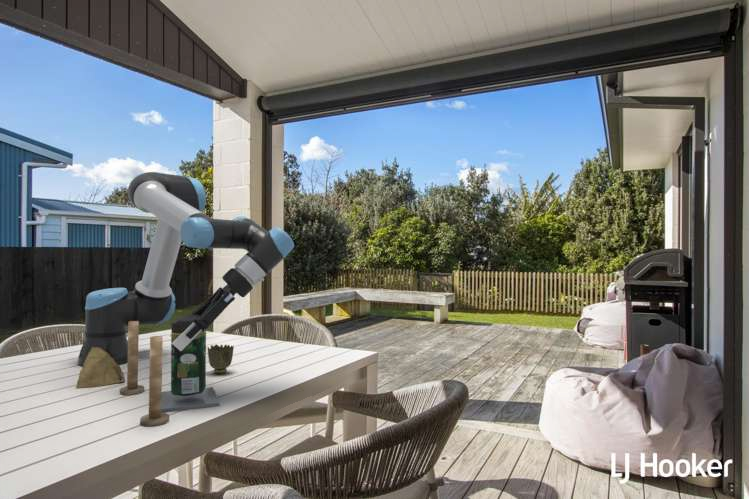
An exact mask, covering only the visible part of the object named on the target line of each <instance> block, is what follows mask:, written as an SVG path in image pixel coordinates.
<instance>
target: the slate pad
mask: <svg viewBox="0 0 749 499" xmlns="http://www.w3.org/2000/svg"><path fill="white" fill-rule="evenodd" d="M220 406H221V403H220V400H219V398H218V396H217V394H216V391H215V389H214V387H213V386H207V387H206V386H205V389H204V391H203V392H202V393H200V394H194V395H192V396H178V395H173V394H172V393H171V390H167V391H166V390H165V391H162V395H161V413H168V412H169V413H170V412H177V411H187V410H195V409H203V408H204V409H205V408H211V407H220Z"/></svg>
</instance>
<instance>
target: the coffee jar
mask: <svg viewBox="0 0 749 499" xmlns="http://www.w3.org/2000/svg"><path fill="white" fill-rule="evenodd" d="M199 317H200V315H198V314H192V313H191V314H182V315H181V316H180V317H177V318H175V319H174V320H173V321H172V322H171V330H170V331H171V332H170V333H171V334H170V335H171V336H170V343H171V344H170V346H171V347H170V348H171V349H170V351H171V352H170V391H171V393H172V394H173V395H178V396H192V395H194V394H200V393H202V392H203V391H204V389H205V387H206V383H207V382H206V381H207V380H206V379H207V377H206V376H207V373H206V372H207V369H206V366H207V364H206V361H207V359H206V358H207V329H204V330H202V329H201V330H202V331H201V332H200V333H199V334H198V335H197V336H196V337H195V338H194V339H193V340H192V341H191V342H190V343H189V344H188V345H187V346H186V347H185V348H184V349H183V350H182V351H180V350H179V349H177V348H176V347H175V346H174V345H173V344H172V343H173V342H174V341H175V340H176V339H177V338H178V337H179V336H180V335H181V334H182V333H183V332H184V331H185V330H186V329H187V328H188V327H189V326H190V325H191V324H192V323H193V320H194V319H196V320H198V319H199Z"/></svg>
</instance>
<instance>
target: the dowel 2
mask: <svg viewBox="0 0 749 499" xmlns="http://www.w3.org/2000/svg"><path fill="white" fill-rule="evenodd" d="M163 339H164V338H163V336H162V335H154V336H150V338H149V375H148V376H149V380H148V381H149V384H148V413H147V414H144V415H143V416H141V417H140V420H139V424H140V426H142V427H148V428H149V427H151V428H152V427H157V426H162V425H165V424H167V423H169V421H170V414H169V413H168V412H163V413H161V395H162V392H163V391H162V390H163V389H162V388H163V387H162V385H163V383H162V382H163V378H162V377H163Z"/></svg>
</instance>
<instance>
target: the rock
mask: <svg viewBox="0 0 749 499" xmlns="http://www.w3.org/2000/svg"><path fill="white" fill-rule="evenodd" d="M125 381H126V377H125V374H124V372H123V370H122V368H121V366H120V364H117V363H116V362H115V361H114V360H113V358H112V357H111V356H110V355H109V354H108V353H107V352H105V351H104V350H102V349H101V348H98V347H96V348H94V347H92V348H91V350H90V352H89V354H88V356H87V358H86V360H85V363H84V365H83V366H82V368H81V370H80V372H79V374H78V379H77V382H76V386H75V389H81V388H93V387H103V386H107V385H108V386H109V385H113V384H119V383H120V384H121V383H123V382H124V383H125Z"/></svg>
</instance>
